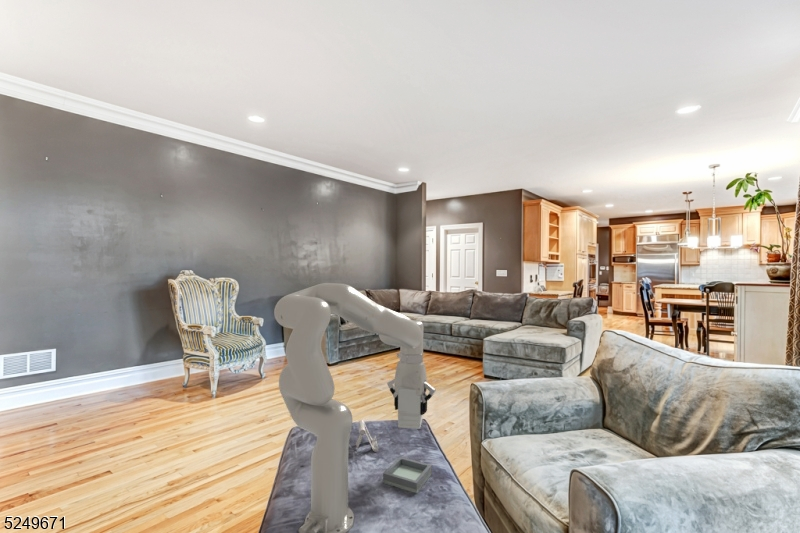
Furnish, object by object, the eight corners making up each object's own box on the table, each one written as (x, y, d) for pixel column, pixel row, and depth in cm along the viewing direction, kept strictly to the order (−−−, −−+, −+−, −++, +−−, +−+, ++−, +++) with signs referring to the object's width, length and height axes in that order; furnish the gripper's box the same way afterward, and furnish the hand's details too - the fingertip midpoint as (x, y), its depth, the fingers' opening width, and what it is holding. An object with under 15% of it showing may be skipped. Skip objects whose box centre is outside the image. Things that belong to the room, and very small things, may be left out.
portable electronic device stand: (378, 451, 137) (378, 428, 137) (356, 453, 135) (356, 429, 135) (375, 440, 145) (376, 419, 145) (355, 442, 144) (355, 420, 144)
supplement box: (422, 420, 127) (423, 383, 127) (419, 429, 120) (420, 389, 120) (400, 419, 128) (401, 381, 129) (397, 427, 121) (397, 388, 121)
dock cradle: (416, 493, 111) (416, 483, 111) (382, 482, 117) (383, 473, 117) (431, 474, 121) (431, 465, 121) (400, 465, 127) (400, 456, 127)
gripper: (383, 357, 125) (381, 410, 125) (431, 363, 117) (430, 420, 117) (393, 353, 132) (392, 403, 131) (440, 359, 124) (439, 412, 124)
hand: (410, 411), depth 124 cm, fingers closed on supplement box, 8 cm apart
